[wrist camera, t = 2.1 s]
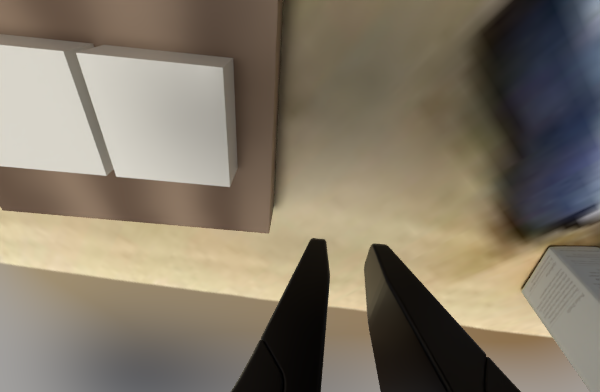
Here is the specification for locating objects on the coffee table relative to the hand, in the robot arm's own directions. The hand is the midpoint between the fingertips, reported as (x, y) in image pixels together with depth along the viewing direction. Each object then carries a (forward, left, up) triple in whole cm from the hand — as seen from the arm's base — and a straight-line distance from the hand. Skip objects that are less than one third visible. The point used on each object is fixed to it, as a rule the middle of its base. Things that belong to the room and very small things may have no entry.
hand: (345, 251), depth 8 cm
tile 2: (+8, 0, -9) cm, 12 cm away
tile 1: (+15, 0, -9) cm, 17 cm away
